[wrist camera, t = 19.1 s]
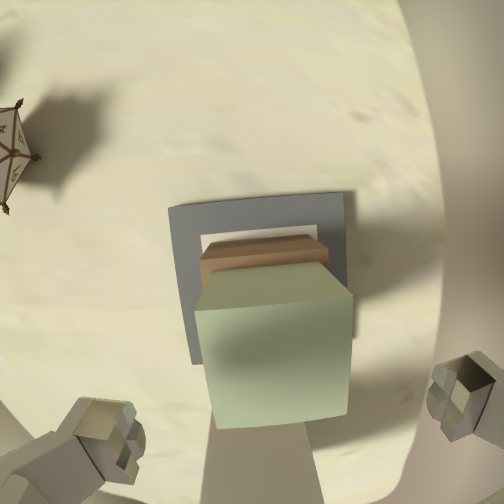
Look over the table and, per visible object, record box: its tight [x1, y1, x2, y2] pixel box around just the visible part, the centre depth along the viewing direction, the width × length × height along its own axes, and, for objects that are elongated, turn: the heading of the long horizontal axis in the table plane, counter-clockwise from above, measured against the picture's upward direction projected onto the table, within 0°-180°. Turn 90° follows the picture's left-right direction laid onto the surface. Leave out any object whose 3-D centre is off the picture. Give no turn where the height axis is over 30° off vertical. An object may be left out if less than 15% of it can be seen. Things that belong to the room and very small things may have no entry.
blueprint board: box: [168, 193, 347, 365], centre depth 20 cm, size 11×11×1 cm
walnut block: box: [199, 234, 329, 289], centre depth 17 cm, size 6×6×5 cm
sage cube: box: [194, 261, 354, 429], centre depth 12 cm, size 5×5×5 cm
